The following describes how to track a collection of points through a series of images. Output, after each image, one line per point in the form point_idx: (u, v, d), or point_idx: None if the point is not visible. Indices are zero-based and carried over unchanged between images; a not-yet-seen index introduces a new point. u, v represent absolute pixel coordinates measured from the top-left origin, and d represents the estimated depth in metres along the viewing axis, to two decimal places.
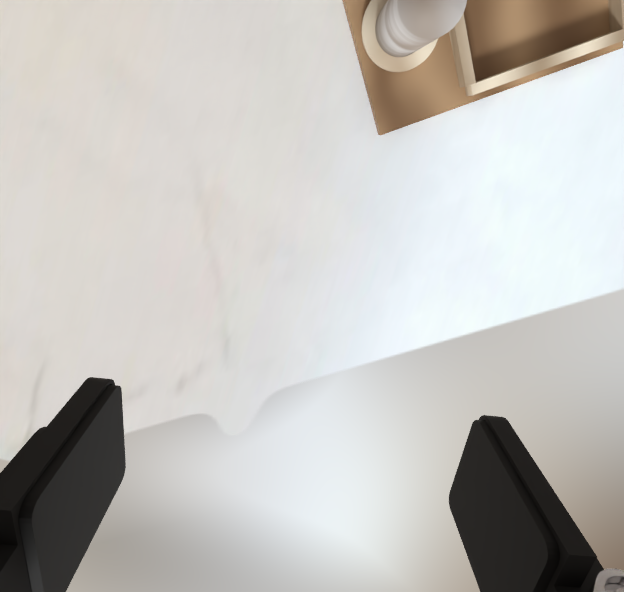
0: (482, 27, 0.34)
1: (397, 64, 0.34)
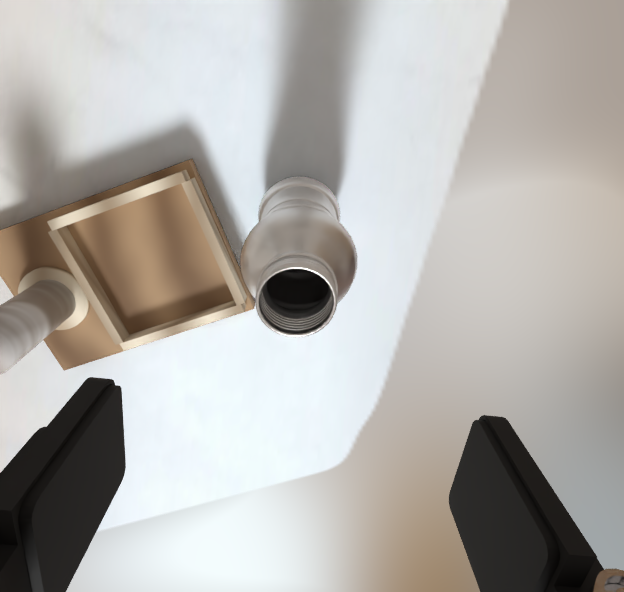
0: (127, 295, 0.39)
1: None
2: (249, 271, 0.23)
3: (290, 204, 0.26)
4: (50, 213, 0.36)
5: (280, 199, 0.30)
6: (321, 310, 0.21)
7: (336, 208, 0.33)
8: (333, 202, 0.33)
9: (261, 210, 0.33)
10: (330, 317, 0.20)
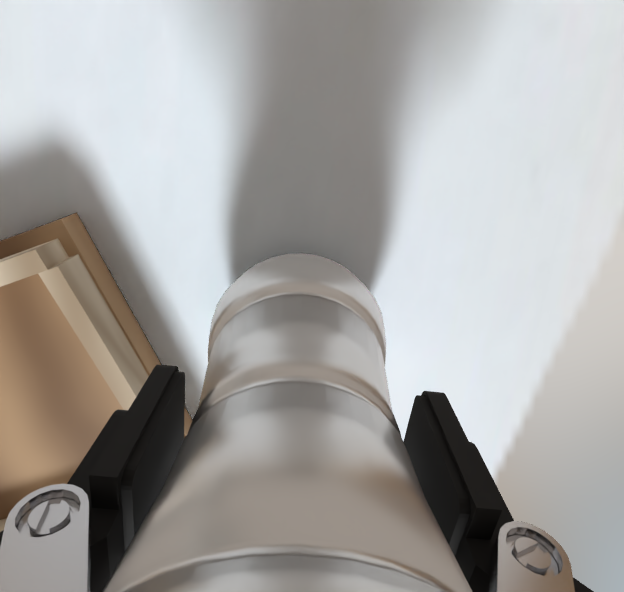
0: None
1: None
2: None
3: (260, 437, 0.08)
4: None
5: (245, 348, 0.11)
6: None
7: (381, 335, 0.15)
8: (375, 323, 0.14)
9: (211, 339, 0.15)
10: None
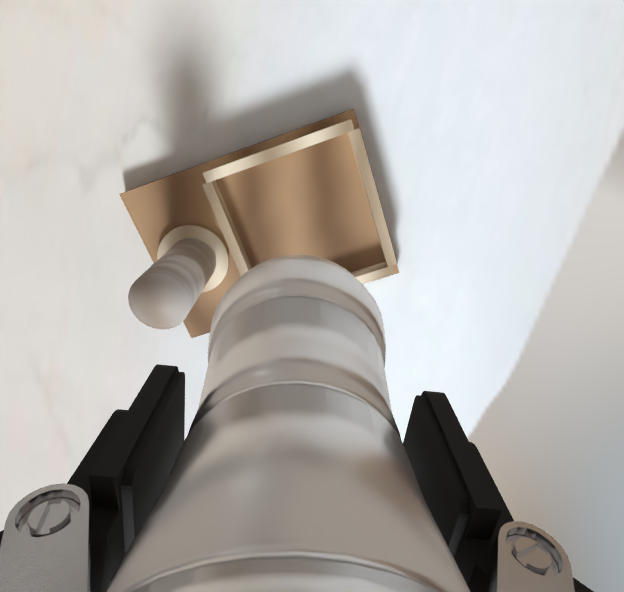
0: (268, 257, 0.37)
1: None
2: None
3: (260, 440, 0.08)
4: (200, 166, 0.35)
5: (245, 350, 0.11)
6: None
7: (381, 336, 0.15)
8: (375, 325, 0.14)
9: (211, 341, 0.15)
10: None
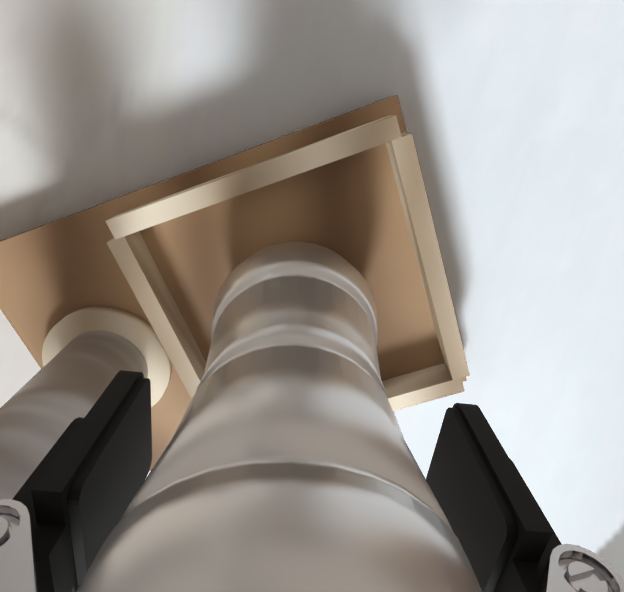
0: None
1: None
2: None
3: (260, 387, 0.09)
4: (109, 205, 0.19)
5: (246, 322, 0.12)
6: None
7: (373, 315, 0.16)
8: (367, 304, 0.16)
9: (214, 320, 0.16)
10: None
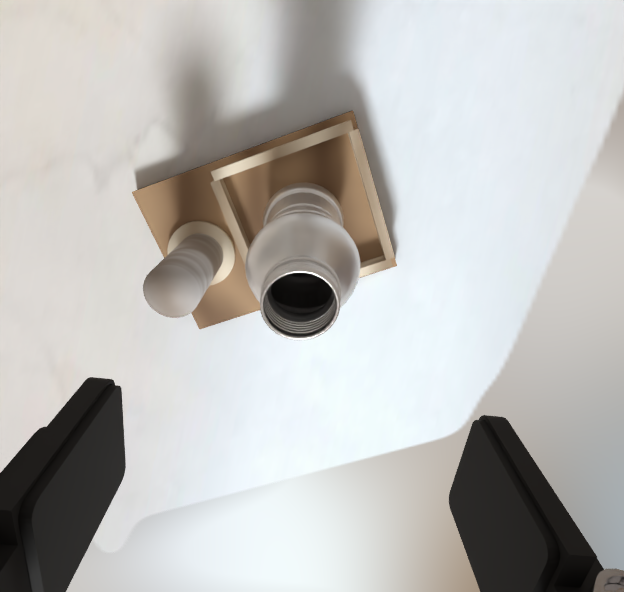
0: None
1: None
2: (254, 275, 0.23)
3: (294, 210, 0.27)
4: (208, 165, 0.37)
5: (284, 205, 0.30)
6: (324, 313, 0.22)
7: (340, 214, 0.34)
8: (337, 208, 0.34)
9: (266, 216, 0.34)
10: (333, 320, 0.20)
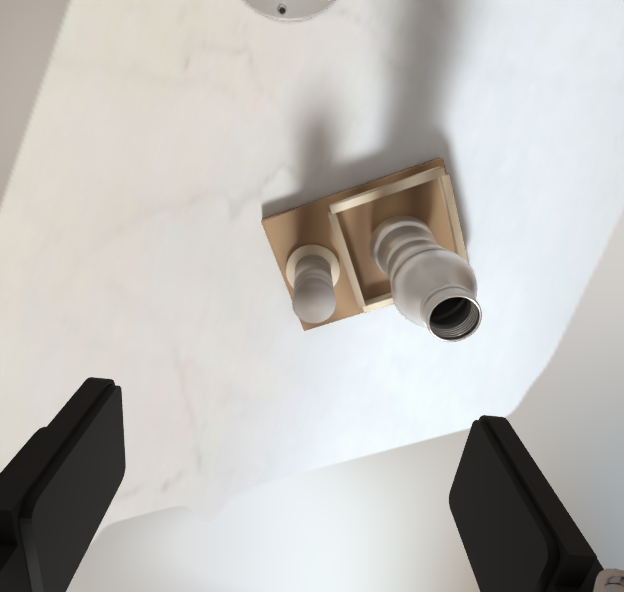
0: (369, 268, 0.49)
1: None
2: (406, 295, 0.32)
3: (420, 244, 0.36)
4: (324, 201, 0.46)
5: (401, 237, 0.40)
6: (462, 323, 0.31)
7: None
8: (433, 237, 0.43)
9: (377, 243, 0.43)
10: (476, 328, 0.29)
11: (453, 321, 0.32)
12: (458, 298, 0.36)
